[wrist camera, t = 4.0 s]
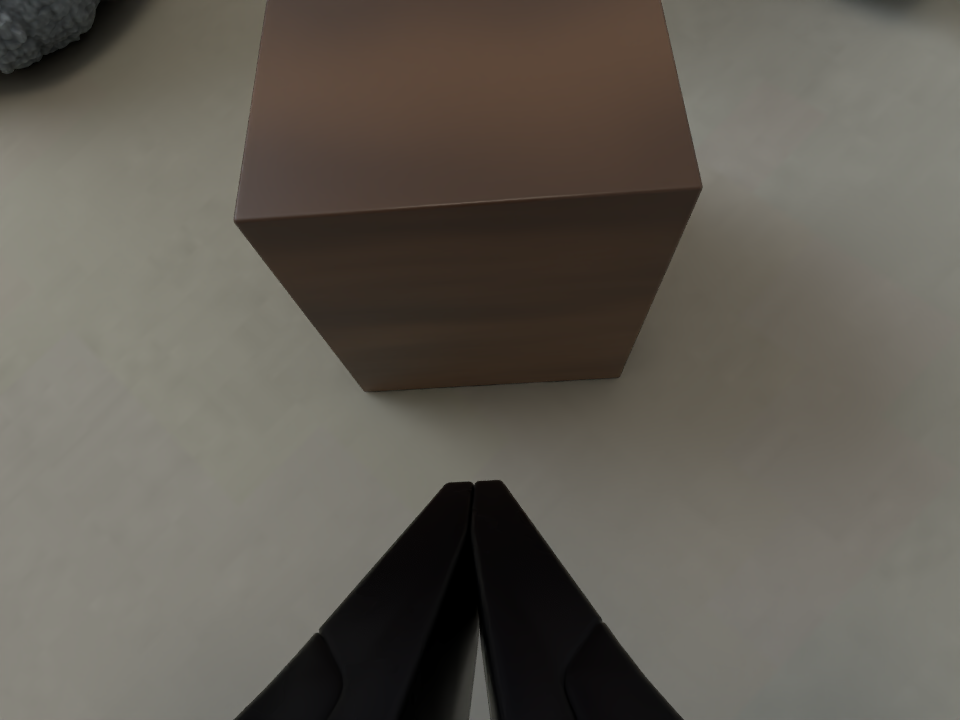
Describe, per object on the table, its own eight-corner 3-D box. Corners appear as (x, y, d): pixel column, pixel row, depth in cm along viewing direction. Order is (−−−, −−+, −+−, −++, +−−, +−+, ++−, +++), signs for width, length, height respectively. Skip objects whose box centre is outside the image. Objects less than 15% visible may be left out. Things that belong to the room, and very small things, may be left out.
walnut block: (620, 377, 18) (704, 187, 10) (363, 392, 18) (231, 222, 10) (591, 170, 21) (637, -111, 13) (372, 186, 21) (276, -76, 13)
